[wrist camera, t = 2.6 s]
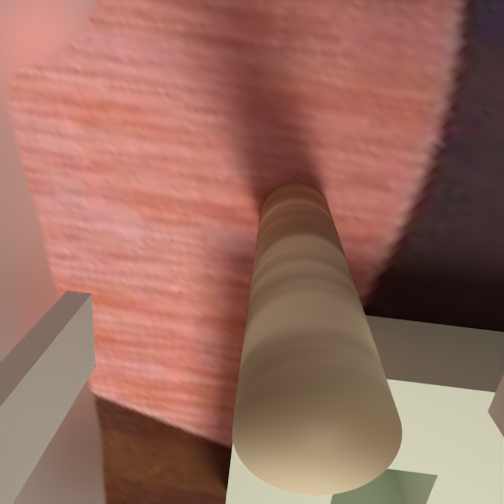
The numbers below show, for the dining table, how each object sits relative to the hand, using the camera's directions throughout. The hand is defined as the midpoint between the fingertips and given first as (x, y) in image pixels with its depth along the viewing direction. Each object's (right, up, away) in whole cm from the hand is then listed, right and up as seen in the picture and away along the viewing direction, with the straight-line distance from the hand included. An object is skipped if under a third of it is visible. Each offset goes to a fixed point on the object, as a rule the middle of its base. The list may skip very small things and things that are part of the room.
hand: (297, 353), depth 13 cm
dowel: (+1, +5, +11) cm, 13 cm away
